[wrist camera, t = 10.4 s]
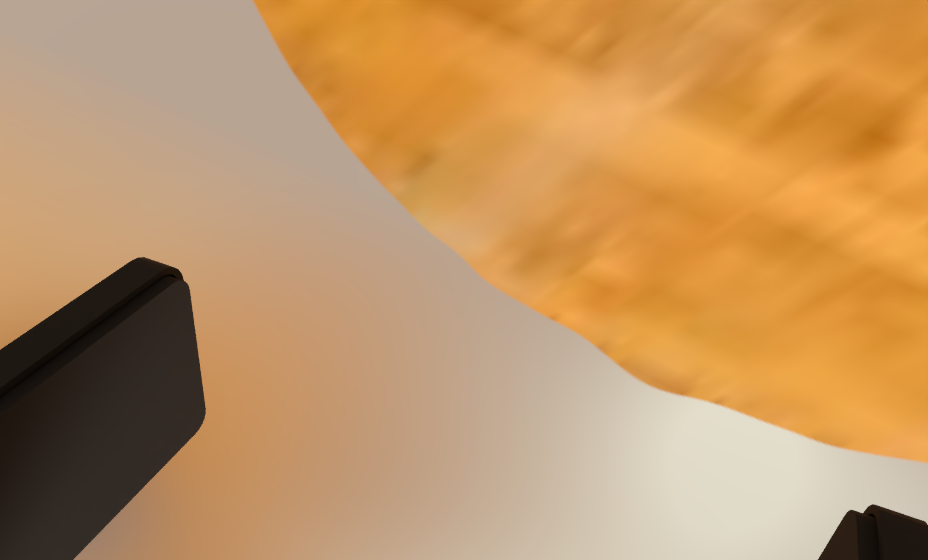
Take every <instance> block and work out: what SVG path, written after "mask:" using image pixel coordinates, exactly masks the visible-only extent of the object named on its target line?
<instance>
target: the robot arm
mask: <svg viewBox="0 0 928 560" xmlns="http://www.w3.org/2000/svg"><path fill="white" fill-rule="evenodd" d="M205 409H206V408H205V401H204V393H203V386H202V378H201V371H200V363H199V357H198V348H197V341H196V333H195V326H194V318H193V312H192V303H191V296H190V290H189V286H188V284H187V283H186V282H185V281H184V280H183V276H182V274H181V272H180V271H179V270H178V269H176V268H174V267H171V266H168V265H165V264H162V263H159V262H157V261H153V260H150V259H148V258H145V257H142V258H136V259H134V260H132V261H130V262H129V263H127V264H126V265H124V266H123V267H122V268H120V269H119V270H117V271H116V272H114V273H113V274H111V275H110V276H108V277H107V278H106V279H104V280H102V281H101V282H99V283H98V284H96V285H95V286H94V287H92V288H91V289H89V290H88V291H86V292H85V293H83V294H82V295H80V296H79V297H77V298H76V299H74V300H73V301H71V302H70V303H69V304H67V305H66V306H64V307H63V308H61V309H60V310H58V311H57V312H55V313H54V314H52V315H51V316H49V317H48V318H46V319H45V320H44V321H42V322H40V323H39V324H38V325H36V326H35V327H33V328H32V329H30V330H29V331H27V332H26V333H24V334H23V335H21V336H20V337H18V338H17V339H16V340H14V341H13V342H11V343H10V344H8V345H7V346H5V347H4V348H2V349H1V350H0V560H73V559H74V558H75V557H76V556H77V555H78V554H79V553H80V552H81V551H82V550H83V549H84V548H85V547H86V546H87V545H88V544H89V543H90V542H91V541H92V540H93V539H94V538H95V537H96V535H97V534H98V533H99V532H100V531H101V530H102V529H103V528H104V527H105V526H106V525H107V524H108V523H109V522H110V521H111V520H112V519H113V518H114V517H115V516H116V515H117V514H118V513H119V512H120V511H121V510H122V509H123V508H124V507H125V506H126V505H127V504H128V503H129V502H130V501H131V500H132V498H133V497H134V496H135V495H136V494H137V493H138V492H139V491H140V490H141V489H142V488H143V487H144V486H145V485H146V484H147V483H148V482H149V481H150V480H151V479H152V478H153V477H154V476H155V475H156V474H157V473H158V472H159V471H160V470H161V469H162V468H163V466H165V464H167V462H168V461H169V460H170V459H171V458H172V457H173V456H174V455H175V454H176V453H177V452H178V451H179V450H180V449H181V448H182V447H183V446H184V445H185V444H186V443H187V442H188V441H189V439H191V438H192V437H193V436H194V435H195V434H196V432H197V431H198V430H199V428H200V427H201V425H202V423H203V420H204V418H205ZM818 560H928V525H927V523H926V522H924V521H922V520H919V519H915V518H912V517H910V516H907V515H904V514H901V513H898V512H895V511H892V510H889V509H886V508H883V507H880V506H877V505H870V506H869V507H868V508H867V509H866V510H865V511H864V513H860V512H857V511H854V510H850V511H848V512H847V513H846V515H845V516H844V518H843V520H842V521H841V523H840V524H839V526H838V527H837V529H836V531H835V533H834V534H833V536H832V538H831V539H830V541H829V542H828V544H827V546H826V548H825V549H824V551H823V552H822V554H821V555H820V557H819V559H818Z"/></svg>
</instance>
